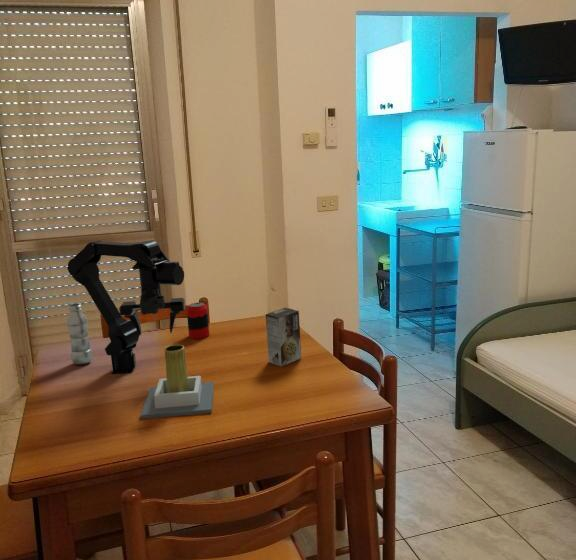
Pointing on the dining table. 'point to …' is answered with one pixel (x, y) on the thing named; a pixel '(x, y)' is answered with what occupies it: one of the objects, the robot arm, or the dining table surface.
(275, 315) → the coffee box
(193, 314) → the soda can
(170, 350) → the vase
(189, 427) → the dining table surface
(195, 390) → the holder
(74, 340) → the plastic bottle
